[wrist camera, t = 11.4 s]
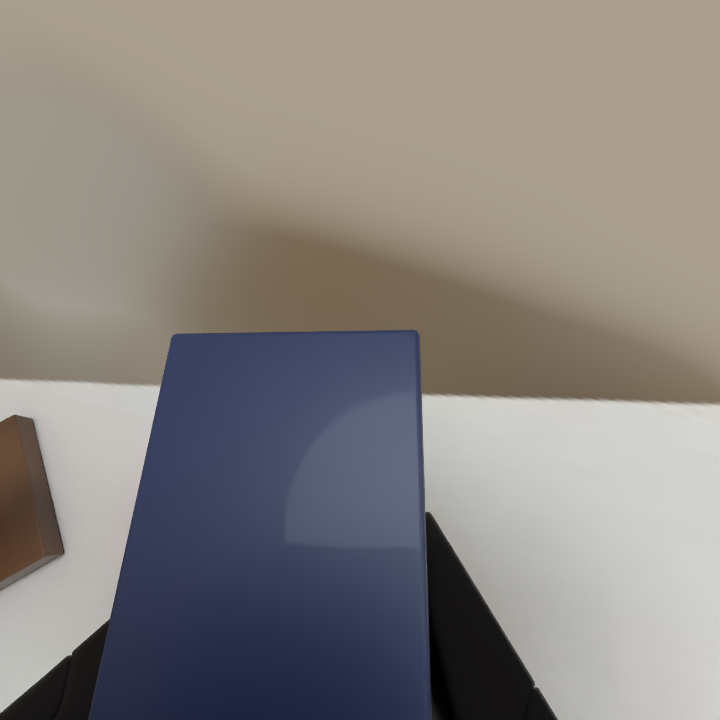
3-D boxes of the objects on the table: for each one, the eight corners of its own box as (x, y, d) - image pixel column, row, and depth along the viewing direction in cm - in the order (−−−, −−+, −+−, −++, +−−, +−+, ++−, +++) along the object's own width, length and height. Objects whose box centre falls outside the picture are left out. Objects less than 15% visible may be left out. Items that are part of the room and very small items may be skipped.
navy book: (409, 694, 12) (460, 1616, 2) (309, 686, 13) (-80, 1455, 2) (405, 452, 15) (420, 327, 5) (323, 450, 15) (170, 332, 5)
